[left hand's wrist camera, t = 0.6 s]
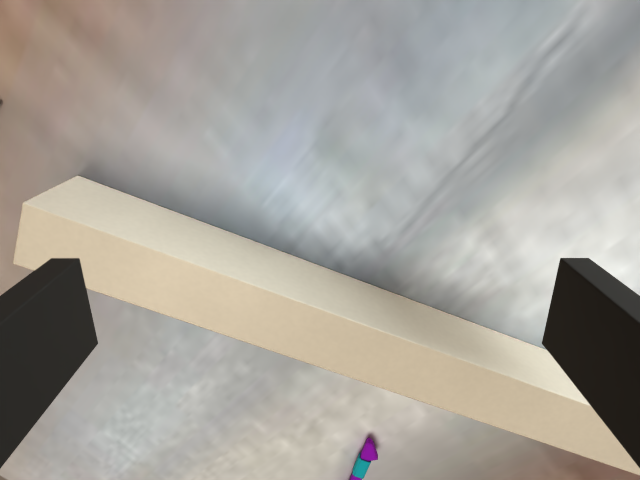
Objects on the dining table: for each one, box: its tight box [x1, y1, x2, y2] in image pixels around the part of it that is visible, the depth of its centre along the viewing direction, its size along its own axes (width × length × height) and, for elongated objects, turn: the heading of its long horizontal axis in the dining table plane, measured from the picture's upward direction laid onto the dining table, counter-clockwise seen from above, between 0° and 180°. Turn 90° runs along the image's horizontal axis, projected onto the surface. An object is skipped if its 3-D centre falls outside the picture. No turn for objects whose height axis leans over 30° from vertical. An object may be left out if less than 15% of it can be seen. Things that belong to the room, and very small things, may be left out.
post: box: [13, 176, 640, 475], centre depth 39 cm, size 61×5×8 cm, turn 68°
